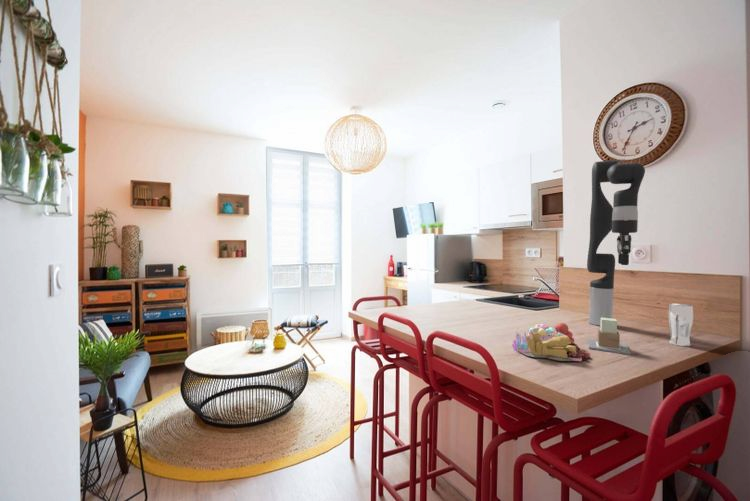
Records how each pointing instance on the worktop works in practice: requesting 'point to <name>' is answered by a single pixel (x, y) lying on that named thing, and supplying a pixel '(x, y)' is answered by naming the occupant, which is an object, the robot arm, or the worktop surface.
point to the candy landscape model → (549, 343)
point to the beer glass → (680, 323)
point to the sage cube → (608, 325)
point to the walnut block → (608, 339)
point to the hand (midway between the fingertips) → (623, 264)
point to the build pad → (622, 347)
